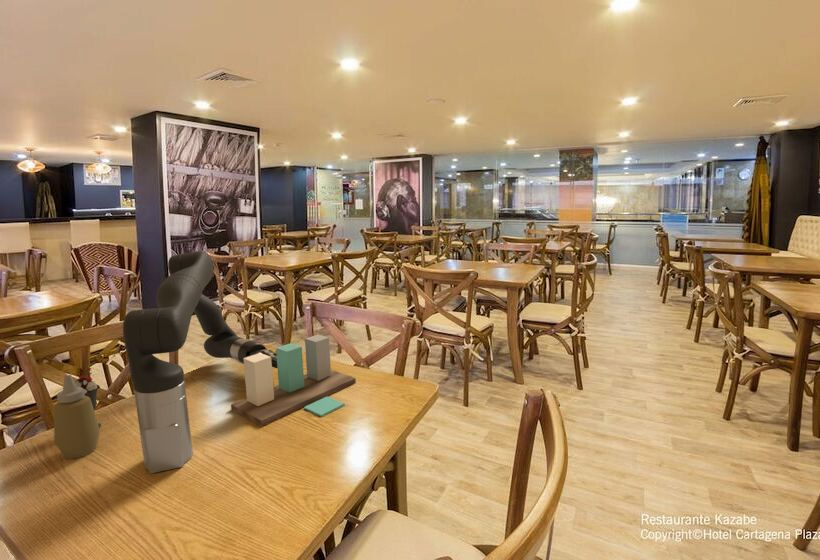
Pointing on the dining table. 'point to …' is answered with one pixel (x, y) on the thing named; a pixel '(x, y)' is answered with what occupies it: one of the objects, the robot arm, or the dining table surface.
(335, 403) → the pad
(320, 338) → the tall grey rectangular prism
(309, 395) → the dark wooden board
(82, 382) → the sundae
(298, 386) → the tall teal pillar
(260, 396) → the cream tall rectangular block
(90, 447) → the squeeze bottle
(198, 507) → the dining table surface
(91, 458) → the dining table surface
